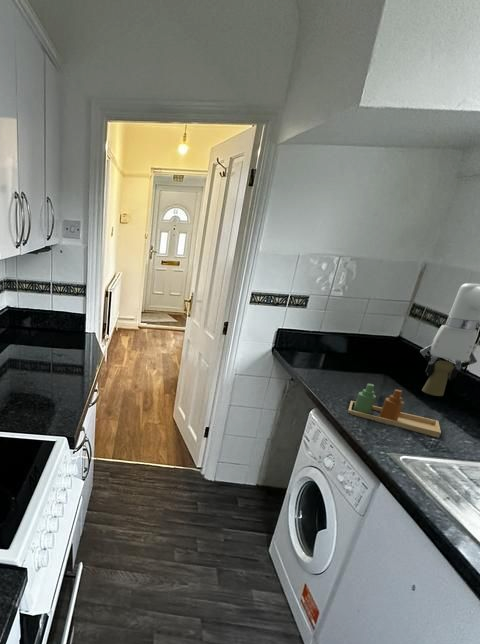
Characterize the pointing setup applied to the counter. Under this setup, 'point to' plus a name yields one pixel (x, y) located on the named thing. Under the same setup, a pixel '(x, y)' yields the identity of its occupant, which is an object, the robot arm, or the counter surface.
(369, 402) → the green bottle
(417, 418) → the tray
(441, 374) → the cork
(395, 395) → the amber bottle
